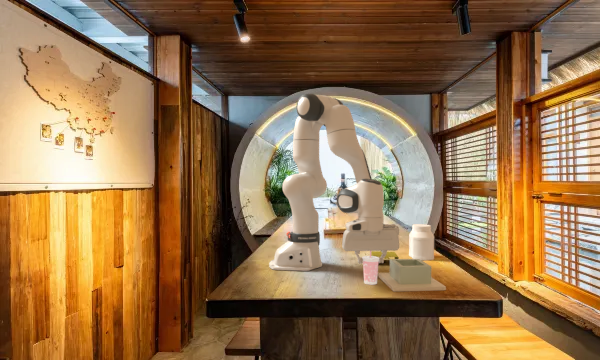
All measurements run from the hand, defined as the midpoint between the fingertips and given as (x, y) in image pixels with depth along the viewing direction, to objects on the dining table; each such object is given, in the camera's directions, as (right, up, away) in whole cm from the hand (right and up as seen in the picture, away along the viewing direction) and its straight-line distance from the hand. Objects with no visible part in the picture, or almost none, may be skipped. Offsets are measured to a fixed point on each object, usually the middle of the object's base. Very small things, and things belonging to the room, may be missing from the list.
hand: (370, 262), depth 130 cm
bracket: (+12, -7, +28) cm, 31 cm away
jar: (+31, -7, +39) cm, 50 cm away
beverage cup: (0, -7, 0) cm, 7 cm away
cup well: (+14, -7, 0) cm, 16 cm away
